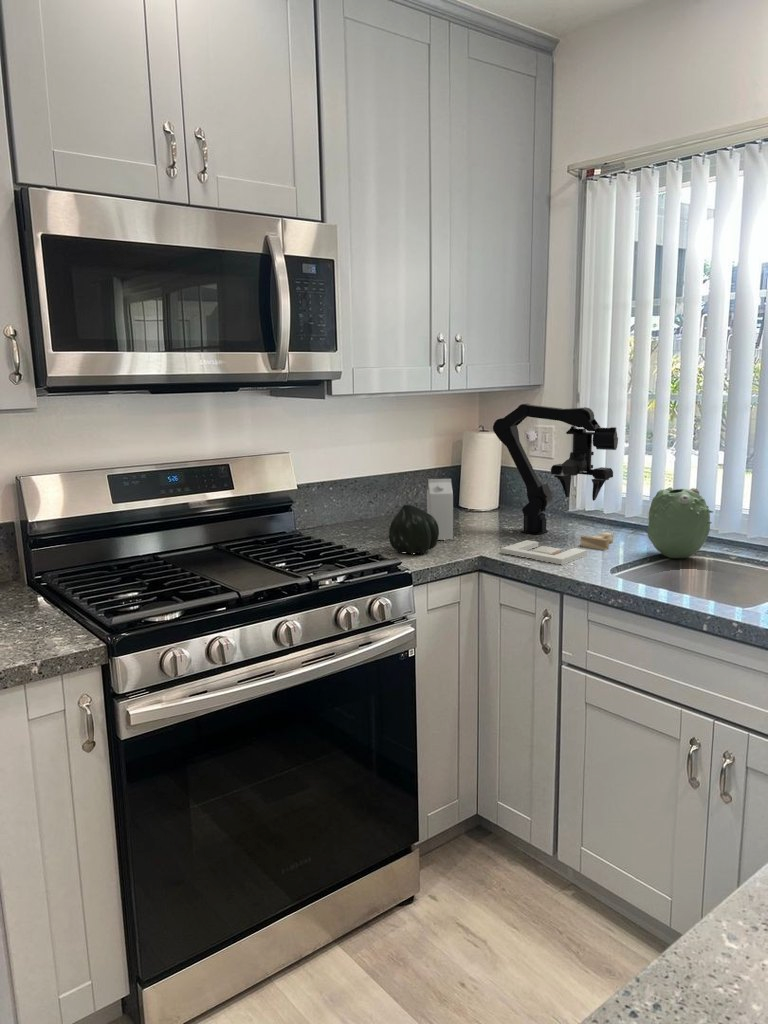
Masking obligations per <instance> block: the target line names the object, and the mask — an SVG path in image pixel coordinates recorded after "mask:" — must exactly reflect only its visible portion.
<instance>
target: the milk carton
mask: <svg viewBox="0 0 768 1024" xmlns="http://www.w3.org/2000/svg"><path fill="white" fill-rule="evenodd" d="M453 492H454V491H453V484H452V478H428V483H427V488H426V513H428V514H430V515H431V516H432V517H434V519H435V520H436V522H437V524H438V527H439V536H438V539H453V540H454V529H453V528H454V493H453Z"/></svg>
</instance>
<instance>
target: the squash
mask: <svg viewBox="0 0 768 1024" xmlns="http://www.w3.org/2000/svg"><path fill="white" fill-rule="evenodd" d="M438 536H439V527H438V524H437V522H436V520H435V519H434V517H432V516H431V515H430V514H428V513H427V511H425V510H423V509H421V508H419V507H416V506H414V505H411V504H403V506H401V507H400V509H399V511H398V512H397V514H395V516H394V517H393V519H392V521H391V523H390V526H389V530H388V541H389V544H390V546H391V547H392V548H393V549H394V550H395V549H396V550H395V551H397V552H399V553H400V552H408V553H407V554H409V553H412V554H413V553H416V554H420V553H424V554H426V553H428V551H430V550H433V549H434V548H435V547H436V546H437V543H438V541H437V540H438ZM418 552H419V553H418ZM412 554H411V555H412Z"/></svg>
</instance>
